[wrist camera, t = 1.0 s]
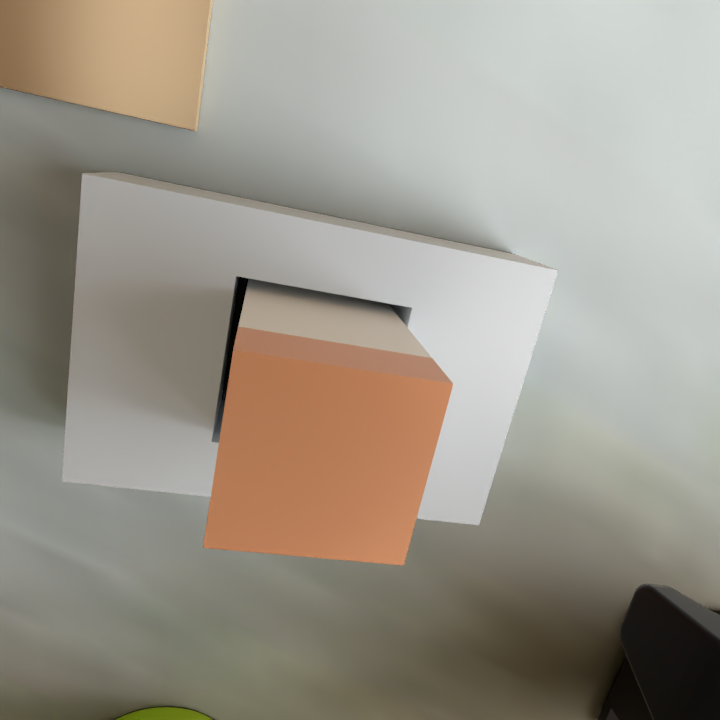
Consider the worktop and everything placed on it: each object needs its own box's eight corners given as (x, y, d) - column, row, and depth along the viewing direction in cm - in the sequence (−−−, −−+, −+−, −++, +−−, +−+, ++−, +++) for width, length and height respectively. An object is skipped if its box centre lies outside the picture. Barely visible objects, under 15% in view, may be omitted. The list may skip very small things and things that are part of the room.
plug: (379, 292, 18) (453, 383, 11) (353, 408, 19) (404, 565, 12) (251, 269, 17) (233, 350, 10) (231, 391, 18) (203, 547, 11)
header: (514, 254, 18) (558, 270, 15) (450, 475, 21) (478, 525, 18) (115, 171, 16) (82, 173, 13) (94, 432, 18) (61, 481, 15)
